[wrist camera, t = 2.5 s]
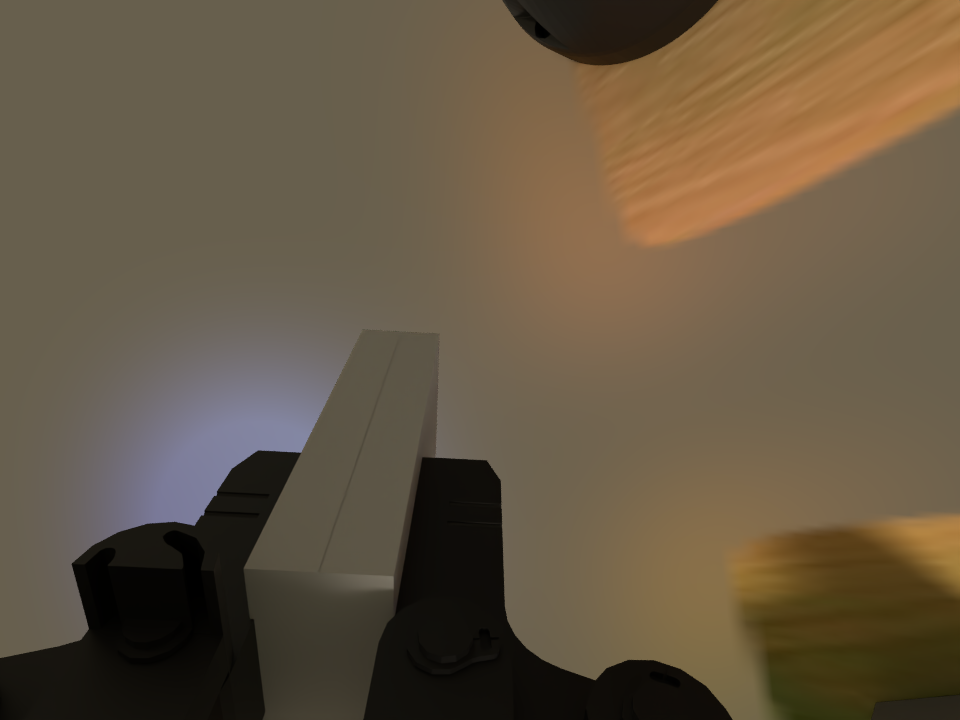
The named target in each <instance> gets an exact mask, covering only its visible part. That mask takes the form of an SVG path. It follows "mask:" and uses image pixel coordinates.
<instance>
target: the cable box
mask: <svg viewBox="0 0 960 720" xmlns="http://www.w3.org/2000/svg"><path fill="white" fill-rule="evenodd" d="M871 720H960V695H953V696H942V697H931V698H921V699H910V700H899V701H888V702H878V703H876V704H875V708H874V712H873V715H872V719H871Z"/></svg>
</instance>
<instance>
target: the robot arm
mask: <svg viewBox="0 0 960 720" xmlns="http://www.w3.org/2000/svg"><path fill="white" fill-rule="evenodd" d="M717 1H718V0H503V2H504V3H505V5H506V6H507V8H508V9H509V11H510V12H511V14H512V15H513V17H514V18H515V20H516V21H517V22H518V23H519V25H520V26H521V27H522V28H523V29H524V30H525V32H527V33H528V34H529V35H530V36H531V37H532V38H533V39H534V40H536V41H537V42H539V43H540V44H541V45H543V46H545V47H546V48H548V49H550V50H552V51H554V52H556V53H558V54H561V55H563V56H565V57H567V58H569V59H571V60H574V61H577V62H581V63H585V64H592V65H612V64H618V63H623V62H628V61H631V60H635V59H638V58H641V57H643V56H646V55H648V54H650V53H652V52H654V51H656V50H658V49H660V48H662V47H664V46H665V45H667V44H669V43H670V42H672V41H673V40H675V39H676V38H678V37H679V36H680V35H682V34H683V33H684V32H686V31H687V30H688V29H689V28H691V27H692V26H693V25H694V24H695V23H697V22H698V21H699V20H700V19H701V18H702V17H703V16H704V15H705V14H706V13H707V12H708V11H709V10H710V9H711V8H712V6H713V5H714V4H715V3H716V2H717ZM438 365H439V334H435V333H417V332H399V331H382V330H363V331H362V332H361V334H360V336H359V338H358V340H357V343H356V344H355V347H354V348H353V350H352V352H351V354H350V357H349V359H348V360H347V362H346V364H345V366H344V368H343V370H342V372H341V374H340V376H339V378H338V380H337V382H336V384H335V386H334V388H333V390H332V392H331V394H330V396H329V399H328V400H327V403H326V405H325V407H324V408H323V411H322V412H321V414H320V417H319V418H318V420H317V423H316V424H315V426H314V428H313V430H312V432H311V434H310V436H309V438H308V440H307V442H306V444H305V447H304V448H303V450H302V452H301V453H296V452H276V451H257V452H255V453H254V454H252V455H251V456H250V457H248V458H247V459H245V460H244V461H242V462H241V463H240V464H238V465H237V466H235V467H234V468H232V470H231V471H230V473H229V474H228V476H227V477H226V479H225V480H224V482H223V483H222V485H221V486H220V488H219V489H218V491H217V496H214V497H213V499H212V500H211V502H210V503H209V505H208V506H207V508H206V509H205V513H204V516H201V517H200V518H199V520H198V521H197V523H196V525H195V526H192V525H188V524H183V523H177V522H167V523H152V524H145V525H142V526H138V527H135V528H131V529H128V530H124V531H121V532H118V533H116V534H114V535H112V536H110V537H108V538H107V539H105V540H103V541H101V542H99V543H97V544H95V545H93V546H92V547H91V548H89V549H88V550H87V551H86V552H85V553H84V554H82V555H81V556H80V557H79V558H78V559H77V560H75V562H73V563H72V567H73V571H74V575H75V578H76V582H77V586H78V589H79V593H80V597H81V600H82V604H83V608H84V612H85V615H86V619H87V623H88V627H89V630H88V631H87V633H86V634H85V635H84V637H83V638H82V640H80V641H77V642H73V643H69V644H66V645H62V646H59V647H53V648H48V649H43V650H39V651H34V652H29V653H24V654H19V655H14V656H9V657H4V658H0V720H732V718H731V717H730V715H729V713H728V712H727V710H726V709H725V708H724V706H723V705H722V704H721V703H720V702H719V701H718V700H717V698H716V697H715V696H714V695H713V694H712V693H711V691H710V690H709V689H708V688H707V687H706V686H705V685H703V684H702V683H701V682H699V681H698V680H696V679H694V678H693V677H692V676H690V675H689V674H687V673H686V672H684V671H682V670H681V669H678V668H676V667H673V666H670V665H666V664H664V663H660V662H657V661H654V660H627V661H624V662H622V663H619V664H617V665H614V666H611V667H609V668H606V670H605V671H604V672H603V673H602V674H601V675H600V676H599V677H598V678H597V679H596V680H593V679H590V678H587V677H584V676H581V675H578V674H575V673H572V672H569V671H567V670H564V669H561V668H559V667H557V666H554V665H552V664H550V663H548V662H546V661H544V660H542V659H540V658H539V657H538V656H536V655H535V654H533V653H532V652H531V651H529V650H528V649H527V648H526V647H525V646H524V645H523V644H522V643H521V641H520V640H519V639H518V638H517V637H516V636H515V634H514V632H513V631H512V629H511V627H510V625H509V623H508V621H507V616H506V611H505V600H504V569H503V538H502V509H501V481H500V479H499V478H498V476H497V475H496V473H495V472H494V470H493V469H492V468H491V466H490V465H489V463H488V462H487V461H486V460H468V459H449V458H435V454H436V429H437V398H438V367H439V366H438Z"/></svg>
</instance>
